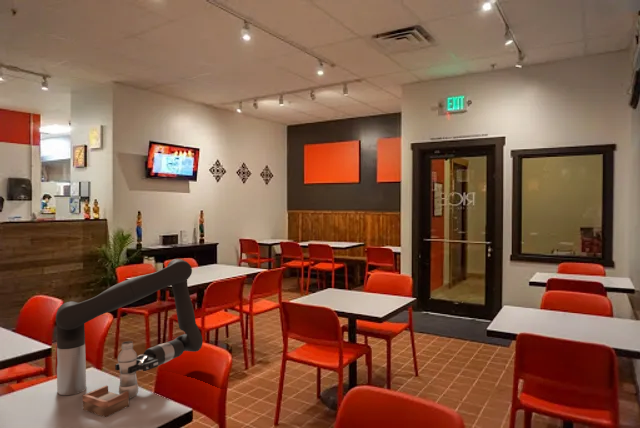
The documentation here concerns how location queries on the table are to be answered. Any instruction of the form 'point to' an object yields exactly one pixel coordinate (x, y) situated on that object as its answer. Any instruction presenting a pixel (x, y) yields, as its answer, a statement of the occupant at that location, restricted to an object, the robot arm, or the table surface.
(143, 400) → the table surface
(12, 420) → the table surface
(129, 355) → the plastic bottle
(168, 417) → the table surface
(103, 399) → the dock
